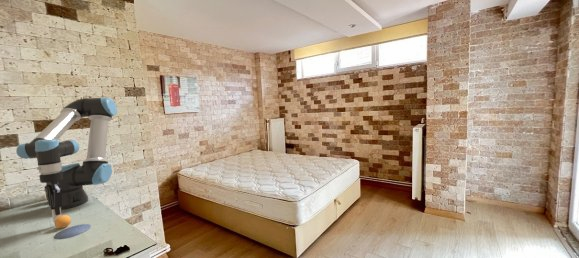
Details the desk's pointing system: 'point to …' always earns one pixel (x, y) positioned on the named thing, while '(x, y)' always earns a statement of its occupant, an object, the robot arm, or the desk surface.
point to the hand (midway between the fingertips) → (57, 220)
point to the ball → (62, 221)
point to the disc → (72, 231)
